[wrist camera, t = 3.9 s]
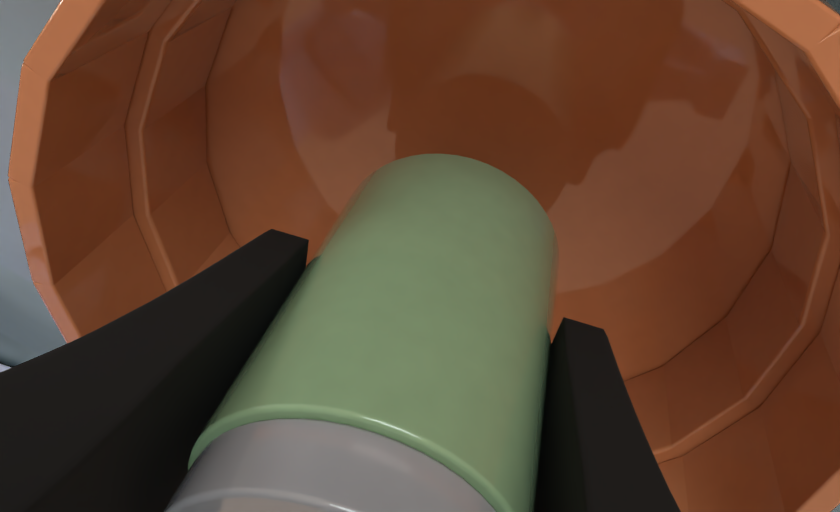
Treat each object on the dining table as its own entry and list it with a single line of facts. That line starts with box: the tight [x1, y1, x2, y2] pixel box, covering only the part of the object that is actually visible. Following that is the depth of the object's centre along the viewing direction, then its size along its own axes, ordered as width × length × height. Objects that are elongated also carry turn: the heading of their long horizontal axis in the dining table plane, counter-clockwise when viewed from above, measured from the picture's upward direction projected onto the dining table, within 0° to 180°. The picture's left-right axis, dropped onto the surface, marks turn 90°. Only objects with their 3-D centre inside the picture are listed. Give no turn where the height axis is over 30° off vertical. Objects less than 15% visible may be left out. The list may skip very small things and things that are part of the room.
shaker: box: [163, 153, 559, 512], centre depth 9 cm, size 4×4×6 cm
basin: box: [8, 0, 840, 512], centre depth 11 cm, size 13×13×5 cm
